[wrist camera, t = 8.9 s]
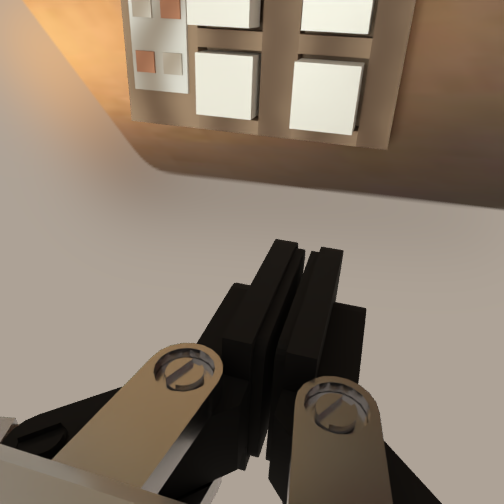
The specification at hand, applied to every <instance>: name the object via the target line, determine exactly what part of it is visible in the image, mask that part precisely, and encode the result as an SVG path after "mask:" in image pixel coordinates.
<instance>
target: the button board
mask: <svg viewBox="0 0 504 504" xmlns="http://www.w3.org/2000/svg"><path fill="white" fill-rule="evenodd" d="M415 2H416V0H375V4H374V11H373V17H372V24H371V30H370V33H369V34H354V33H337V32H320V31H303V30H301V22H302V10H303V0H261V6H260V27H256V28H236V27H219V26H202V25H187V2H186V0H121V6H122V17H123V28H124V39H125V51H126V62H127V73H128V84H129V95H130V106H131V117H132V121H139V122H148V123H156V124H165V125H174V126H182V127H191V128H200V129H209V130H217V131H226V132H235V133H243V134H252V135H261V136H269V137H278V138H287V139H295V140H304V141H313V142H321V143H330V144H339V145H347V146H356V147H365V148H373V149H382V150H387V148H388V143H389V138H390V132H391V127H392V122H393V117H394V112H395V106H396V101H397V96H398V91H399V86H400V80H401V75H402V70H403V65H404V60H405V54H406V49H407V44H408V39H409V34H410V28H411V23H412V18H413V13H414V8H415ZM204 50H219V51H233V52H247V53H261V76H260V97H259V114H258V115H257V116H256V117H254V118H253V119H251V120H245V119H235V118H226V117H217V116H208V115H198V114H196V80H195V52H199V51H204ZM301 58H307V59H321V60H335V61H349V62H363V63H365V64H364V70H363V77H362V83H361V90H360V96H359V103H358V110H357V116H356V123H355V128H354V130H353V133H352V135H344V134H335V133H326V132H317V131H308V130H299V129H289V125H290V113H291V100H292V88H293V76H294V63H295V61H297V60H299V59H301Z"/></svg>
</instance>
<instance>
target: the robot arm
mask: <svg viewBox="0 0 504 504" xmlns="http://www.w3.org/2000/svg"><path fill="white" fill-rule="evenodd" d="M342 257H343V250H338V249H332V248H326V247H321V249H320V252H315V251H311V254H310V256H309V259H308V262H307V265H306V267H305V270H304V273H303V269H304V260H305V250H303V249H298V243H296V242H291V241H284V240H278V239H276V240H275V241H274V243H273V245H272V247H271V249H270V250H269V252H268V254H267V256H266V258H265V260H264V261H263V263H262V265H261V267H260V269H259V271H258V272H257V274H256V276H255V278H254V280H253V282H252V283H251V285H245V284H240V283H234V284H233V286H232V287H231V288H230V290H229V291H228V293H227V295H226V296H225V298H224V300H223V301H222V303H221V305H220V306H219V308H218V310H217V311H216V313H215V315H214V316H213V318H212V319H211V321H210V323H209V324H208V326H207V327H206V329H205V331H204V332H203V334H202V336H201V337H200V339H199V340H198V342H197V344H195V343H180V344H175V345H170V346H168V347H166V348H164V349H161V350H160V351H159V352H157V353H156V354H155V355H153V356H152V357H151V358H150V359H149V360H148V361H147V362H146V363H145V364H144V365H143V366H142V368H140V370H139V371H138V372H137V373H136V374H135V375H134V376H133V377H132V378H131V379H130V380H129V381H128V382H127V383H126V384H125V385H124V386H123V387H120V388H117V389H114V390H111V391H108V392H105V393H102V394H99V395H96V396H93V397H90V398H87V399H84V400H81V401H78V402H75V403H72V404H69V405H66V406H63V407H60V408H57V409H54V410H51V411H48V412H45V413H42V414H39V415H37V416H34V417H32V418H30V419H28V420H25V421H24V422H23V423H21V424H17V421H16V418H10V417H0V504H211V502H212V500H213V498H214V497H215V495H216V493H217V491H218V489H219V486H220V484H221V477H222V476H224V475H226V474H228V473H231V472H233V471H235V470H237V469H241V470H245V469H246V466H247V463H248V460H249V457H250V455H251V456H255V457H259V455H260V452H261V449H262V446H263V443H264V440H265V437H266V434H267V430H268V438H267V449H266V460H269V461H270V467H269V477H268V478H269V480H270V482H271V484H272V485H273V487H274V489H275V490H276V492H277V494H278V495H279V497H280V499H281V500H282V504H442V503H441V502H440V501H439V500H438V499H437V498H436V497H435V496H434V495H433V494H432V492H431V491H430V490H429V489H428V488H427V487H426V486H425V485H424V484H423V483H422V482H421V480H420V479H419V478H418V477H417V476H416V475H415V474H414V473H413V472H412V471H411V470H410V469H409V468H408V466H407V465H406V464H405V463H404V462H403V461H402V460H401V459H400V458H399V457H398V455H397V454H395V452H394V451H393V450H392V449H391V448H390V447H389V446H388V445H387V443H386V442H385V441H384V439H383V432H382V425H381V419H380V412H379V409H378V406H377V403H376V401H375V400H374V398H373V397H372V396H371V394H370V393H369V392H368V391H367V390H365V389H364V388H363V387H362V386H360V385H359V384H358V381H359V372H360V363H361V354H362V345H363V336H364V327H365V318H366V308H362V307H357V306H352V305H347V304H342V303H337V302H335V301H336V295H337V289H338V283H339V276H340V270H341V264H342Z"/></svg>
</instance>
